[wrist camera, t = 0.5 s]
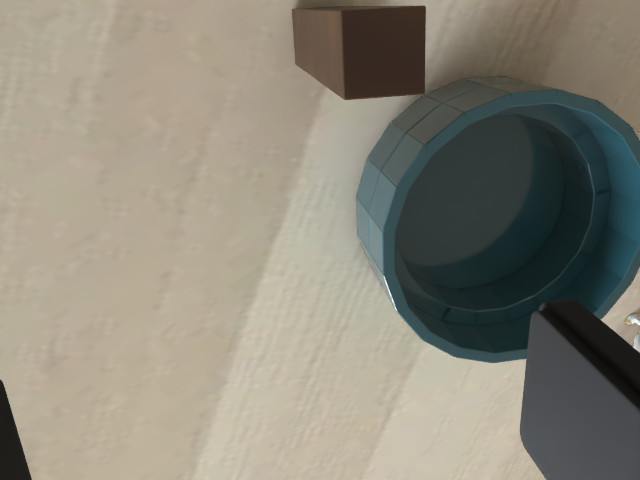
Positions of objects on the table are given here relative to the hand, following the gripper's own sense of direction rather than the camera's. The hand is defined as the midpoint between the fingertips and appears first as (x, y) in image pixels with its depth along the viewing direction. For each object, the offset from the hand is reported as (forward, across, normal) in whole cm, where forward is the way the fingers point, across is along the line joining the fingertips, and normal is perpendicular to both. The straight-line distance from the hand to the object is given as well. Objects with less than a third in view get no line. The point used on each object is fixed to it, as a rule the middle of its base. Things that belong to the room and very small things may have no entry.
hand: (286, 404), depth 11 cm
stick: (+21, -4, -5) cm, 22 cm away
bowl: (+21, -12, +4) cm, 24 cm away
